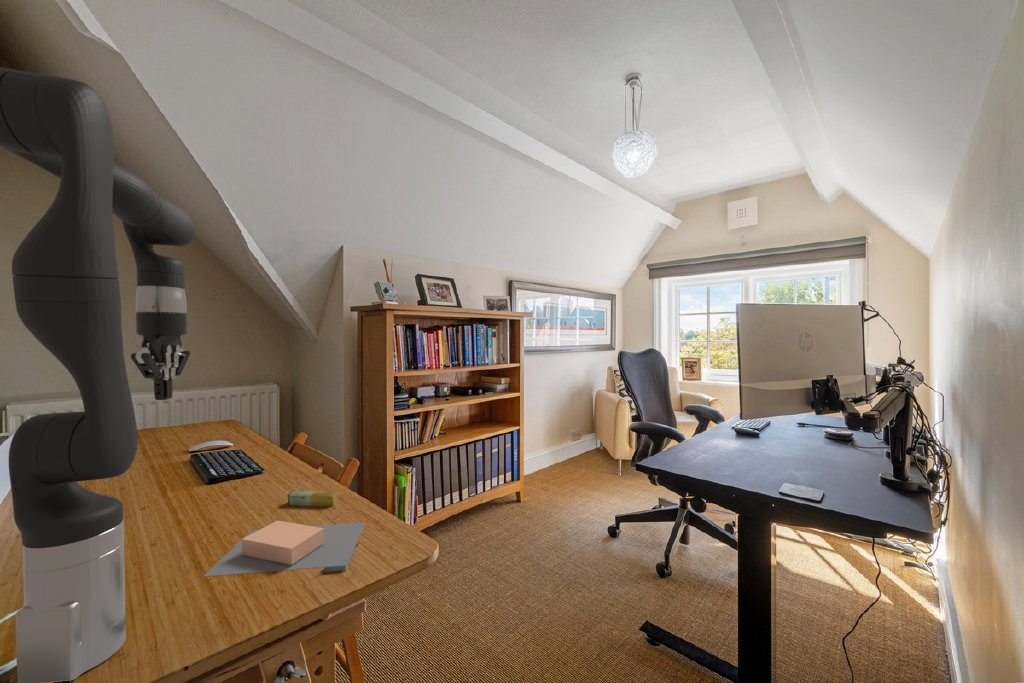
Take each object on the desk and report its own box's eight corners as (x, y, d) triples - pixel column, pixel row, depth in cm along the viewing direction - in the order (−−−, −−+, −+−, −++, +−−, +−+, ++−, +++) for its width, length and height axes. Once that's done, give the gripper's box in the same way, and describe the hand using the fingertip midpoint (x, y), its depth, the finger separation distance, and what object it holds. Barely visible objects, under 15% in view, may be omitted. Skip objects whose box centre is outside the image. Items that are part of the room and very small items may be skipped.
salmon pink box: (241, 539, 77) (291, 548, 74) (277, 520, 85) (323, 528, 81) (242, 556, 77) (291, 566, 74) (277, 535, 85) (324, 544, 81)
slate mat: (345, 570, 74) (345, 565, 74) (203, 582, 71) (202, 576, 71) (366, 526, 91) (366, 522, 91) (251, 534, 88) (251, 529, 87)
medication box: (287, 509, 100) (286, 494, 100) (293, 505, 103) (293, 489, 103) (333, 511, 99) (332, 495, 99) (338, 506, 102) (338, 491, 102)
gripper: (158, 309, 72) (160, 404, 73) (204, 312, 85) (205, 394, 86) (111, 308, 71) (113, 405, 72) (165, 312, 84) (166, 394, 85)
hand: (163, 399), depth 79 cm, fingers closed
